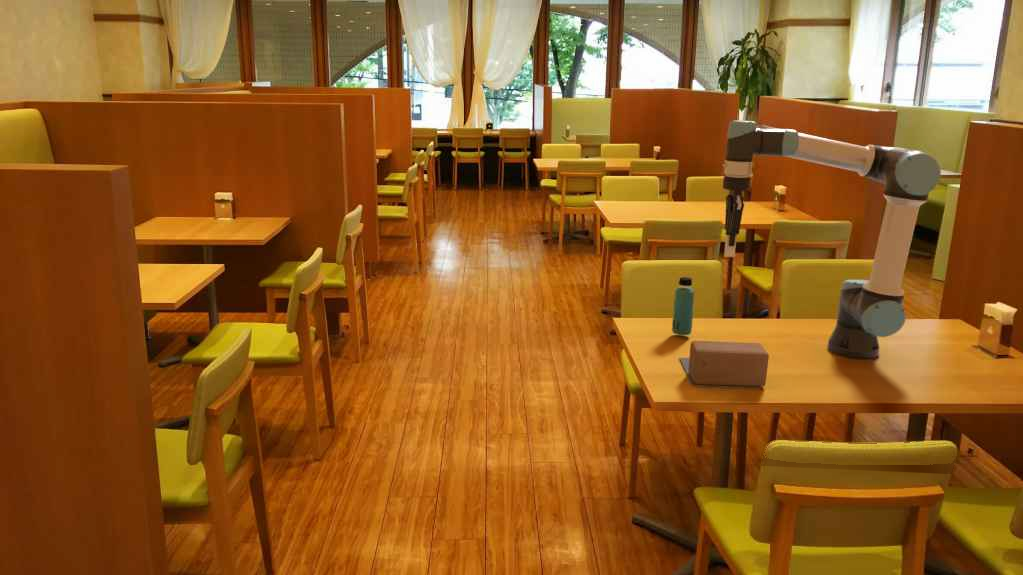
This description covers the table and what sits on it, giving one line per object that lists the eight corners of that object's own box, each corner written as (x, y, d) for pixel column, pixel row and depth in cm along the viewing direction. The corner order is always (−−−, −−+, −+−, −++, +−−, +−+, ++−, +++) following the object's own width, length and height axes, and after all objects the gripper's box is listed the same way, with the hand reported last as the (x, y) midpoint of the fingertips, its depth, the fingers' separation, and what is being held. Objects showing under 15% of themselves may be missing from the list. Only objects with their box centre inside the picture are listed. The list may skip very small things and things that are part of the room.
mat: (742, 361, 248) (742, 360, 248) (760, 388, 227) (760, 387, 227) (679, 358, 249) (679, 357, 248) (691, 385, 227) (691, 384, 227)
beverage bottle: (694, 336, 271) (699, 277, 265) (686, 341, 265) (692, 281, 260) (675, 332, 274) (680, 274, 269) (667, 337, 269) (672, 278, 263)
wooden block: (770, 353, 224) (696, 350, 224) (766, 388, 226) (693, 385, 227) (760, 342, 233) (690, 339, 234) (757, 375, 236) (687, 372, 237)
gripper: (719, 172, 240) (712, 251, 246) (728, 178, 227) (721, 260, 234) (745, 173, 240) (737, 252, 246) (756, 179, 227) (747, 261, 233)
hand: (729, 256), depth 240 cm, fingers closed
